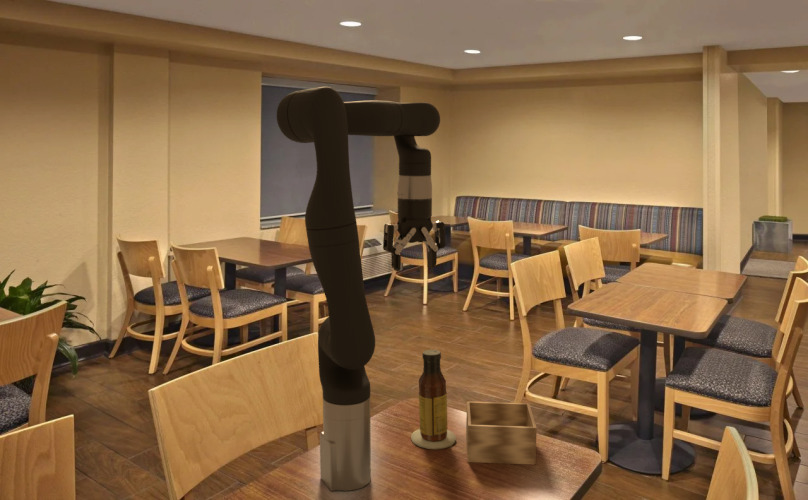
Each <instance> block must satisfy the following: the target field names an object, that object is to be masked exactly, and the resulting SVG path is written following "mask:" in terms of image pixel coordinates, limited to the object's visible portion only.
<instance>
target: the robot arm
mask: <svg viewBox="0 0 808 500" xmlns="http://www.w3.org/2000/svg"><path fill="white" fill-rule="evenodd" d="M276 109H277V110H276V123H277V125H278V128H279V130H280V132H281V133H282V134H283V135H284V137H286V138H287V139H289V140H290V141H291V142H296V143H299V144H308V143H309V144H311V143H313V144H314V145H313V146H314V150H315V159H316V175H315V179H314V180H315V181H314V184H313V187H312V190H311V193H310V196H309V198H308V202H307V204H306V205H307V206H306V210H305V213H304V214H305V215H304V224H305V231H306V237H307V238H306V239H307V242H308V243H307V244H308V249H309V254H310V257H311V260H312V263H313V266H314V269H315V272H316V275H317V277H318V280H319V283H320V284H321V288H322V290H323V293H324V297H325V299H326V304H327V310H328V311H327V312H328V317H326V318H325V320H324V321H323V322H322V324H321V325H320V327H319V330H318V337H317V355H318V376H319V380H320V385H321V389H322V417H323V418H322V430H323V431H321V432H320V433H319V459H320V460H319V464H320V466H319V467H320V469H319V470H320V471H319V472H320V478H321V480H322V481H323V482H324V484H325V485H326V486H327V488H328V489H329V490H330V491H331V492H334V491H354V490H358V489H362V488H364V487H365V486H367V485H368V484H369V483H370V481H371V479H372V472H371V471H372V465H371V464H372V463H371V462H372V458H371V457H372V455H371V454H372V453H371V452H372V451H371V450H372V449H371V441H372V439H371V433H372V432H371V382H370V379H369V377H368V375H367V371H366V367H365V366H366V365H367V364H368V363H369V362H370V361H371V359H372V357H373V355H374V352H375V349H376V334H375V331H374V327H373V326H374V325H373V323H372V319H371V315H370V312H369V308H368V303H367V302H368V301H367V298H366V293H365V285H364V275H363V273H364V272H363V267H362V257H361V250H360V239H359V232H358V224H357V217H356V212H355V206H354V198H353V192H352V191H353V189H352V180H351V170H350V156H349V150H350V149H349V136H365V137H366V136H367V137H393V138H394V142H395V146H396V150H397V154H398V183H397V192H396V194H397V219H398V220H397V223H396V224H391V223H388V222H387V223H385V224H384V226H383V242H382V250H383V251H385V252H388V253H390V257H391V268H392V269H393V271H395V272H400V271H402V269H401V268H402V267H401V265H402V262H401V261H402V260H401V259H402V256H401V255H402V254H400V253H401V252H402V251H403V249H404V248H405V247H406V246H407V245H408V243H409V244H411V243H412V244H414V243H424V245H425V246H426V247H427V249H428V250H427V254H426V255H427V258H426V261H427V263H426V265H427V268H430V269H435V266H437V263H438V262H437V256H438V254H437V252H438V251H439V250H440V249H444V248H445V247H446V239H445V237H446V236H445V235H446V234H445V223H444V222H443V221H439V220H436V221H434V222H432V215H433V182H432V154H431V151H430V150H429V149H427V148H425V147H421V146H419V145H418V144H417V141H416V138H415V137H429V136H431V135H433V134H434V133H436V131H437V130H438V129H439V127H440V124H441V115H440V112H439V110H438V109H437V107H435V105H433V104H431V103H430V102H397V101H392V100H391V101H390V100H377V99H375V100H357V101H344V99H343V98H342V97H341V94H339V92H338V91H337V90H336V89H334V88H332V87H330V86H320V87H313V88H307V89H301V90H296V91H293V92H290V93H288V94H287V95H285V96H284V97H283V98H281V100H280V102H279V103H278V106H277V107H276ZM432 230H433V231H434V239H433V237H432V236H431V234H430V232H431V231H432ZM396 231H397V232H398V235H397V237H396V239H395V240H394V236H395V234H396V233H397V232H396Z"/></svg>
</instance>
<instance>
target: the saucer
mask: <svg viewBox="0 0 808 500" xmlns="http://www.w3.org/2000/svg"><path fill="white" fill-rule="evenodd" d="M410 436H411V437H410V440H411V442H412V444H414V445H415V446H416V447H420V448H423V449H427V450H442V449H447V448H449V447H452V446H453V445H454V444H455V443H456V440H457V439H456V437H457V436H456V434H455V433H454V432H453V431H451V430H449V429H447V437H446V438H445V439H443V440H441V441H435V442H433V441H428V440H425V439H423V438H422V436H421V433H420V428H418V429H416V430H415V431H413V432H412V433H411V435H410Z"/></svg>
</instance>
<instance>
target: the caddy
mask: <svg viewBox="0 0 808 500" xmlns="http://www.w3.org/2000/svg"><path fill="white" fill-rule="evenodd" d="M465 420H466V422H465V423H466V424H465V425H466V426H465V438H466V440H465V441H466V458H467V459H466V460H467V463H484V464H485V463H486V464H509V465H511V464H512V465H514V464H515V465H536V457H537V456H536V453H537V431H538V430H537V429H538V428H537V425H536V421H535V418H534V415H533V412H532V408H531V405H530V403H529V402H528V403H527V402H526V403H525V402H501V401H500V402H499V401H498V402H496V401H495V402H494V401H493V402H492V401H468V400H467V401H466V419H465Z"/></svg>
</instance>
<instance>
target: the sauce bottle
mask: <svg viewBox="0 0 808 500" xmlns="http://www.w3.org/2000/svg"><path fill="white" fill-rule="evenodd" d="M441 359H442V353H441V351H440V350H437V349H426V350H424V351H422V360H423V368H422V370H423V371H422V374H421V375H420V377H419V378H418V406H419V409H418V410H419V411H418V412H419V429H420V433H421V436H422V438H423V439H425V440H428V441H433V442H435V441H441V440H443V439H445V438H446V437H447V430H449V429H448V397H447V395H448V393H447V381H446V380H447V379H446V378H445V377H444V375H443V373H442V371H441V370H442V369H441Z"/></svg>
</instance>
